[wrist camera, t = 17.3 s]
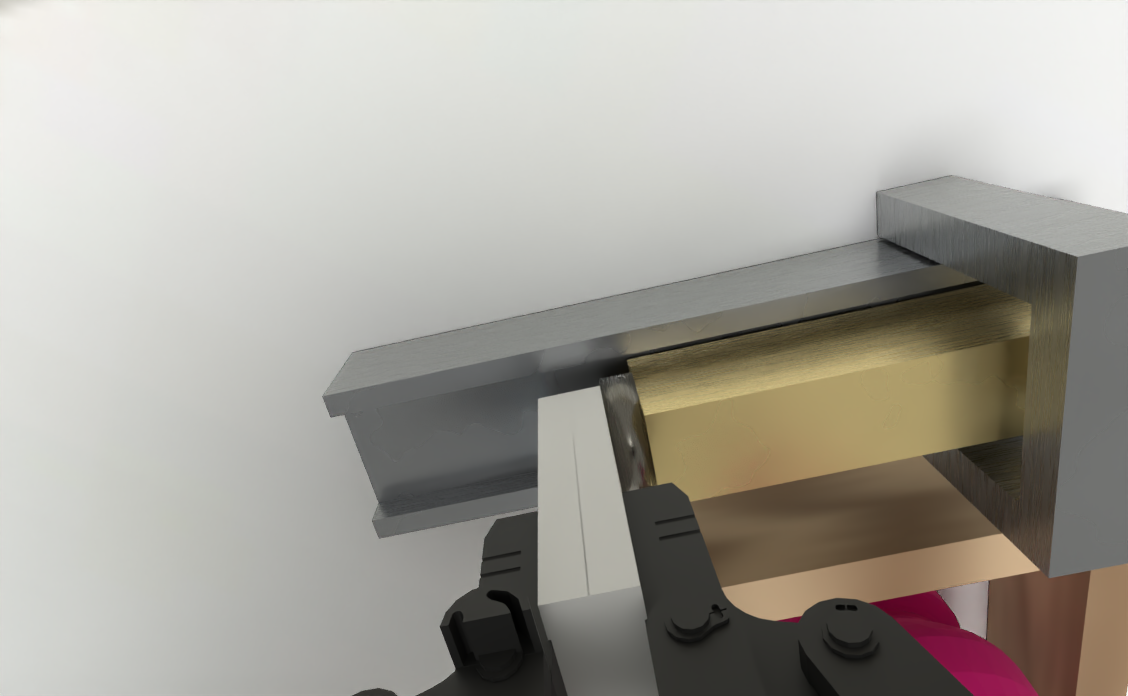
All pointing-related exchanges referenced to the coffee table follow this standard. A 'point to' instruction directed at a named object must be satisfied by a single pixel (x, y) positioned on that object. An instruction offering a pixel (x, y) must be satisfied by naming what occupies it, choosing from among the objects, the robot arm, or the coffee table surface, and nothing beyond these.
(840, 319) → the pin
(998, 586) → the cradle
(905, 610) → the pepper mill
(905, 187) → the rail
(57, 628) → the coffee table surface
